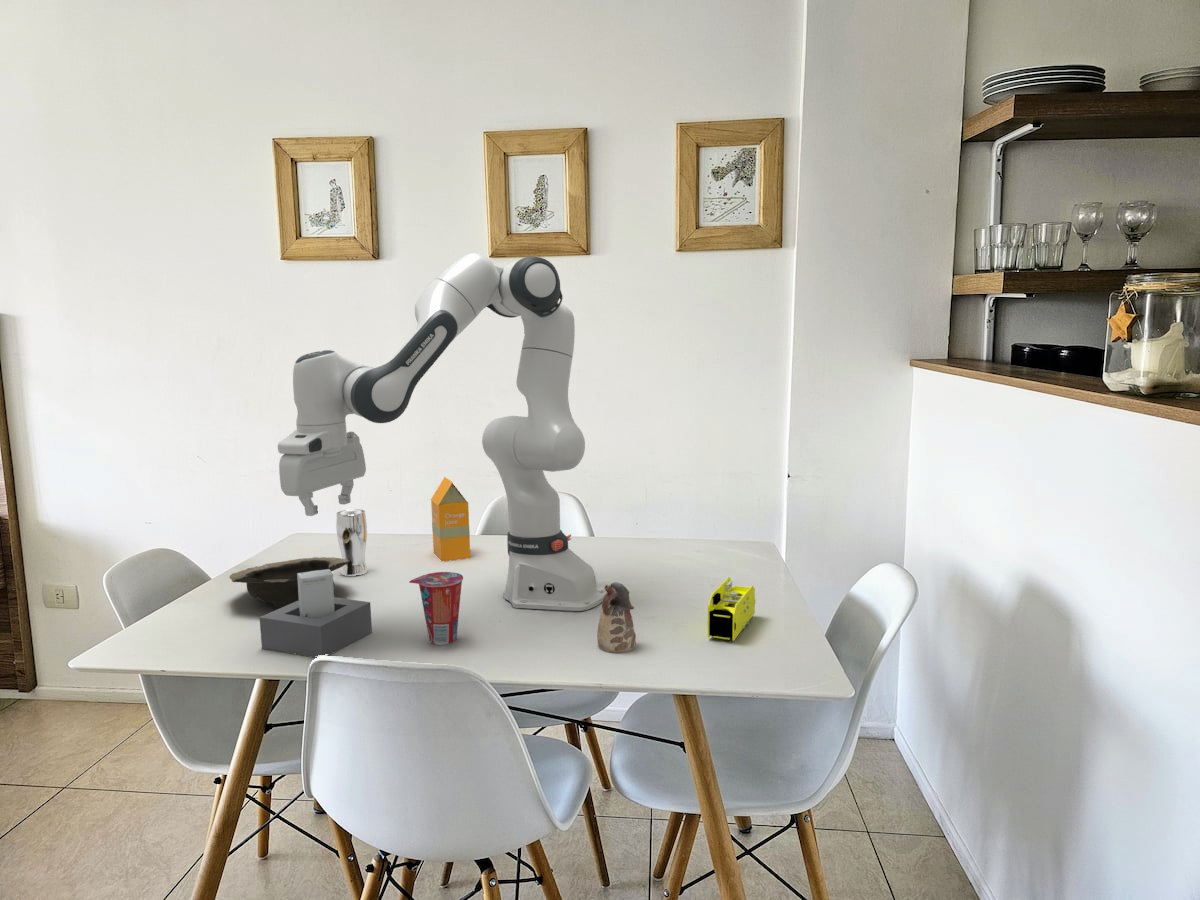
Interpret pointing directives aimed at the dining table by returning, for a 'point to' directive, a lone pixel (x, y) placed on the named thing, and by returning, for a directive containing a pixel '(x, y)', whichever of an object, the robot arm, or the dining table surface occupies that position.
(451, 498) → the orange juice
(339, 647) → the mount block
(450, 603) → the cup
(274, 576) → the stone bowl
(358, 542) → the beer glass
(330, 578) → the skincare box
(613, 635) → the figurine
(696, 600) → the dining table surface
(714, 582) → the dining table surface
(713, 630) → the yellow toy chassis
